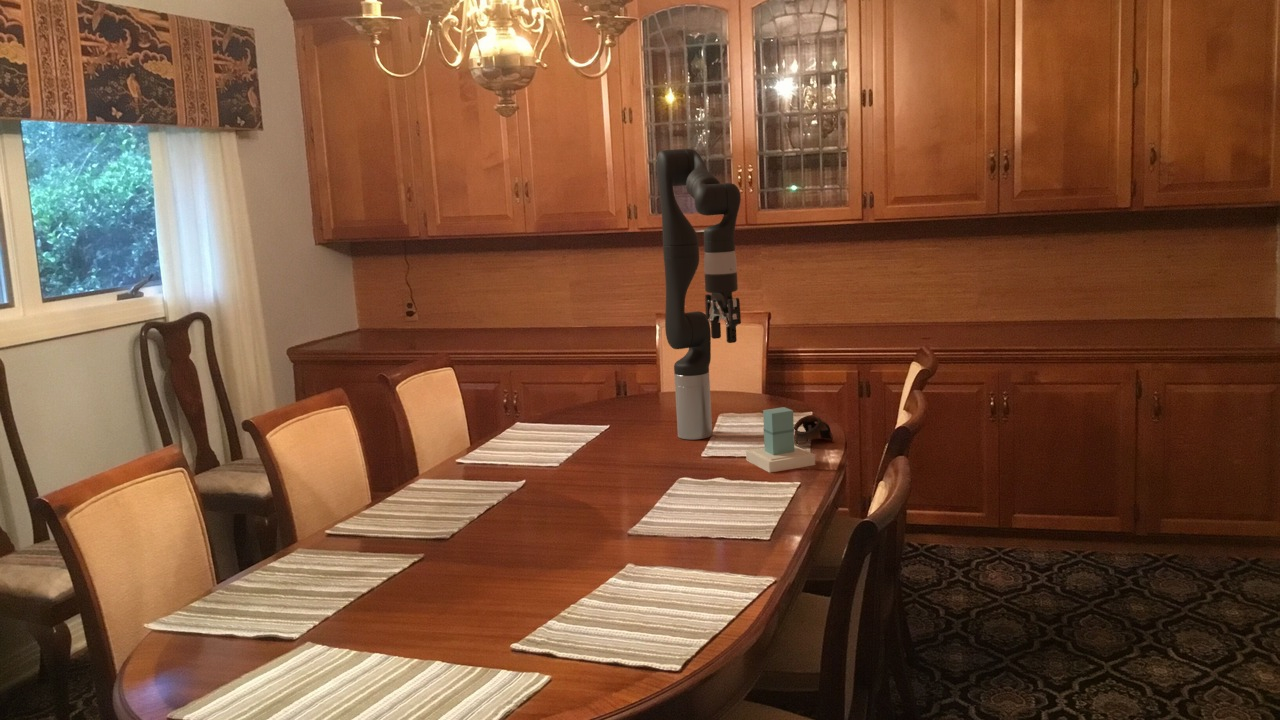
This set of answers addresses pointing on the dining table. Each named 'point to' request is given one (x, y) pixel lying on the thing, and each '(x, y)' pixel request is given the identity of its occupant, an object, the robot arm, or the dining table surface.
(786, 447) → the teal rectangular box
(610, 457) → the dining table surface
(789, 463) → the display plinth
